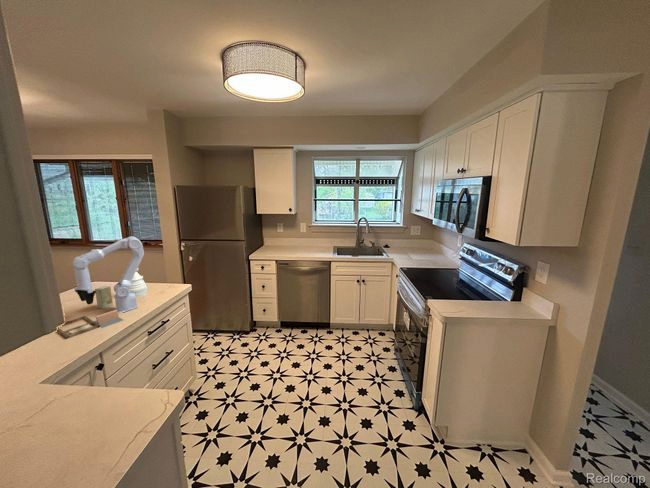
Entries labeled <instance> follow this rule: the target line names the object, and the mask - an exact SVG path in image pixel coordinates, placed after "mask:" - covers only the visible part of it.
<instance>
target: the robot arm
mask: <svg viewBox="0 0 650 488" xmlns="http://www.w3.org/2000/svg"><path fill="white" fill-rule="evenodd" d="M143 245H144V243H142V242H141V240H140V239H138V238H137V237H135V236H132V235H131V236H128V237H125V238H122V239H120V240H118V241H116V242H113V243H112V244H109V245H108V246H106V247H104V248H102V249H101V248H100V249H98V248H96V249H91V250H90V251H88V252H87V253H84V254H83V253H82V254H80V256H75V257H74V258H73V259H72V262H71V263H72V266H73V270H74V271H73V273H74V277H75V283H76V287H75V288H74V292H75V293H77V296H78V298H79V299H80V300H81V302H86V303H85V304H87V305H88V306H89V305H92V304H93V303H94V297H95V296H96V291H95V289H94V288H93V285H92V281H91V275H90V270H89V265H91V264H94V263H95V262H97V261H100V260H102V259H104V257H105V255H107V254H111V253H113V252H115V251H117V250H119V249H128V247H129V248H130V250H131V252H132V253H133V254H132V256H131V259H130V260H129V262H128V265H127V267H126V269H125V270H124V272H123V275H122V277H121V278H120V279H119V281H118V282H117V283H116V284H115V285H114V287H113V291H114V292H115V295H114V301H115V309H113V311H114V310H117V311H118V314H121V313H126V312H128V311H131V310H134V309H138V308H139V307H138V305H137V298H136V296H135V294H134V293H129V292H130V290H129V288H130V286H131V281H132V279H133V276H134V274H135V272H137V271H136V270H137V268H139V266H140V264H141V262H142V259H143V257H144V255H145V251H144V246H143ZM93 289H94V290H93Z"/></svg>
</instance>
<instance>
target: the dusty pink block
mask: <svg viewBox="0 0 650 488" xmlns="http://www.w3.org/2000/svg"><path fill="white" fill-rule="evenodd" d="M118 318H120V316H119V313H118V311H117V310H114V309H113V310H112V311H108V312H105V313H102V314H99V315H96V316H95V319H96V320H97V324H99V325H101V324H103V323H106V322H109V321H112V320H115V319H118ZM96 320H95V321H96Z"/></svg>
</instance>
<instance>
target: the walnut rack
mask: <svg viewBox="0 0 650 488" xmlns="http://www.w3.org/2000/svg"><path fill="white" fill-rule="evenodd" d="M83 320H85V322H87V323H84V324H82V325H81V324H80V325H79V326H76V327H73V328H69V329H67V330H66V329H65V330H64V331H63V330H62V329H61V328H60V327H58V330H57V331H56V332H57V333H59V332H60V333H59V334H60V335H61V336H62V337H63V338H65V339H66V340H68V339H70V338H73V337H77V336H79V335H82V334H85V333H89V332H91V331H93V330H96V329H99V328H101V327H100V325H99V324H97V323H96V322H94V321H95V320H92V319H91V318H90V317H88V316H86V315H82V316H81V317H78V318H74V319H70V320H68V321H65V322H66V323H65V324H64V325H63V326H67V325H69V324H72V323H75V322H78V321H83ZM88 324H89V325H91V326H92V327H91V328H88V329H85V330H82V331H79V332H76V333H73V334H69V331H71V330H74V329H77V328H80V327H82V326H85V325H88Z"/></svg>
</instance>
